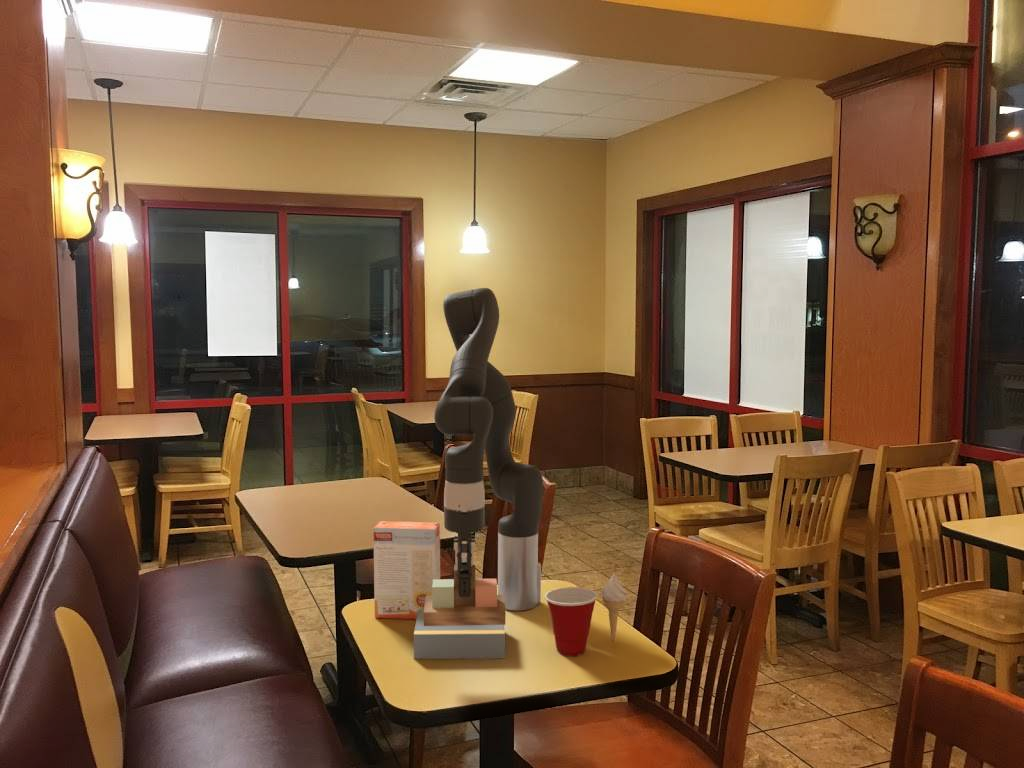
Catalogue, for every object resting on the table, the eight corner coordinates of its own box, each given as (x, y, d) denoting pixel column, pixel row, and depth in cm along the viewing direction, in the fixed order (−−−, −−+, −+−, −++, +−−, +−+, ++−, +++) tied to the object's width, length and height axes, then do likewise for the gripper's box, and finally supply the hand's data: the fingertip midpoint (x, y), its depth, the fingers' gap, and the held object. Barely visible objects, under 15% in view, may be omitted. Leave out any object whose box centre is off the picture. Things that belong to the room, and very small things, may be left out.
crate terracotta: (496, 598, 159) (496, 578, 159) (497, 606, 155) (497, 586, 155) (475, 599, 159) (475, 578, 158) (475, 607, 155) (475, 586, 154)
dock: (502, 631, 179) (502, 608, 178) (504, 658, 166) (504, 633, 166) (418, 631, 178) (418, 609, 178) (413, 658, 165) (413, 634, 165)
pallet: (503, 608, 162) (503, 559, 160) (505, 625, 154) (505, 574, 152) (426, 609, 161) (425, 560, 160) (423, 626, 153) (423, 575, 152)
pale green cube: (454, 599, 159) (454, 579, 158) (453, 607, 155) (453, 586, 154) (433, 599, 159) (433, 579, 158) (432, 607, 155) (432, 587, 154)
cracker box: (441, 611, 190) (441, 521, 187) (436, 621, 184) (435, 529, 181) (380, 608, 191) (379, 519, 189) (373, 618, 185) (372, 526, 183)
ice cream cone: (607, 648, 171) (609, 578, 169) (594, 638, 176) (596, 569, 174) (631, 644, 173) (633, 574, 171) (617, 634, 178) (619, 566, 176)
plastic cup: (567, 634, 178) (568, 579, 176) (607, 650, 170) (609, 593, 169) (532, 649, 170) (533, 592, 169) (572, 666, 163) (573, 607, 161)
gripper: (445, 493, 161) (445, 580, 163) (442, 514, 147) (443, 608, 149) (484, 493, 162) (484, 579, 164) (485, 513, 148) (485, 607, 150)
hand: (464, 592), depth 157 cm, fingers closed on pallet, 3 cm apart
